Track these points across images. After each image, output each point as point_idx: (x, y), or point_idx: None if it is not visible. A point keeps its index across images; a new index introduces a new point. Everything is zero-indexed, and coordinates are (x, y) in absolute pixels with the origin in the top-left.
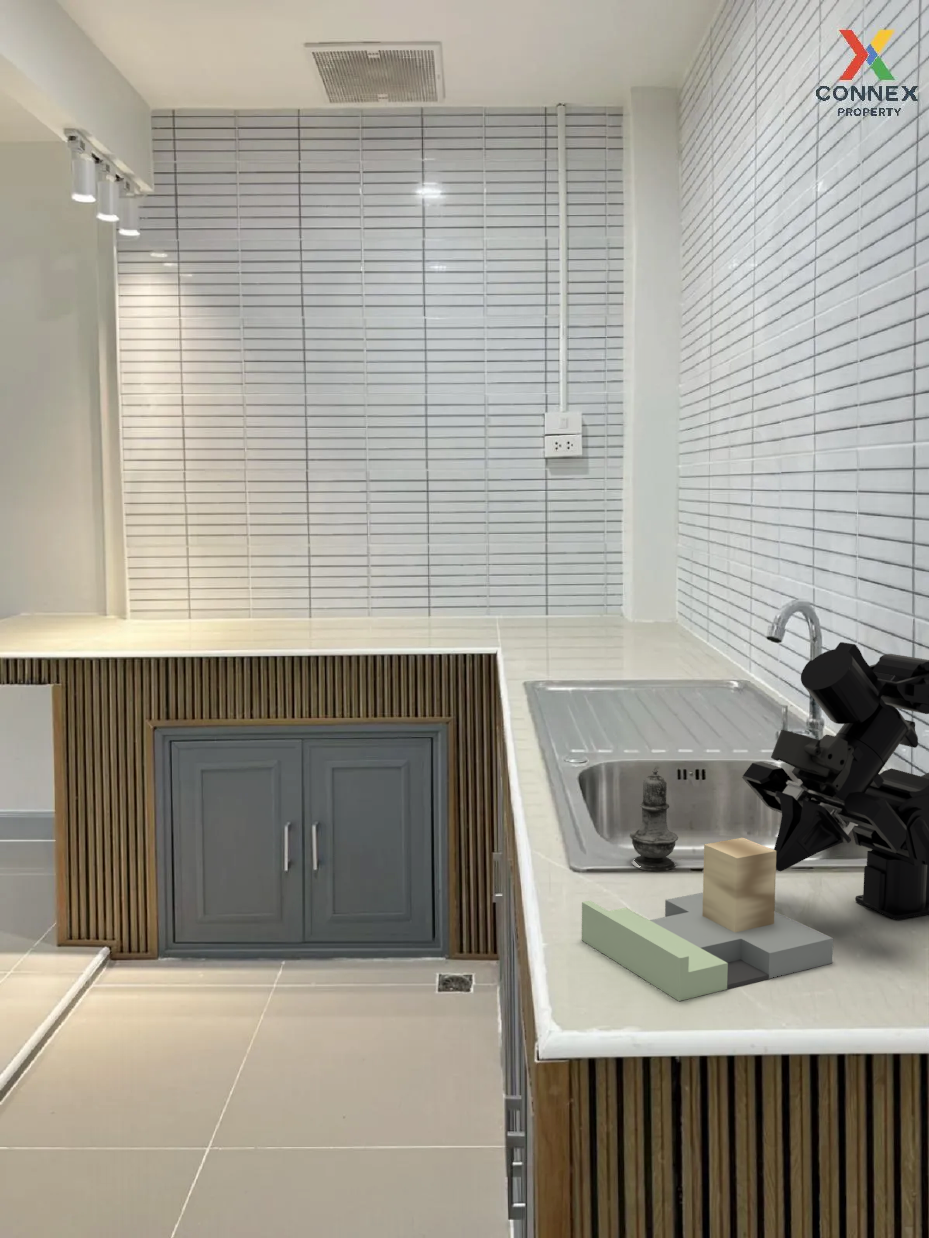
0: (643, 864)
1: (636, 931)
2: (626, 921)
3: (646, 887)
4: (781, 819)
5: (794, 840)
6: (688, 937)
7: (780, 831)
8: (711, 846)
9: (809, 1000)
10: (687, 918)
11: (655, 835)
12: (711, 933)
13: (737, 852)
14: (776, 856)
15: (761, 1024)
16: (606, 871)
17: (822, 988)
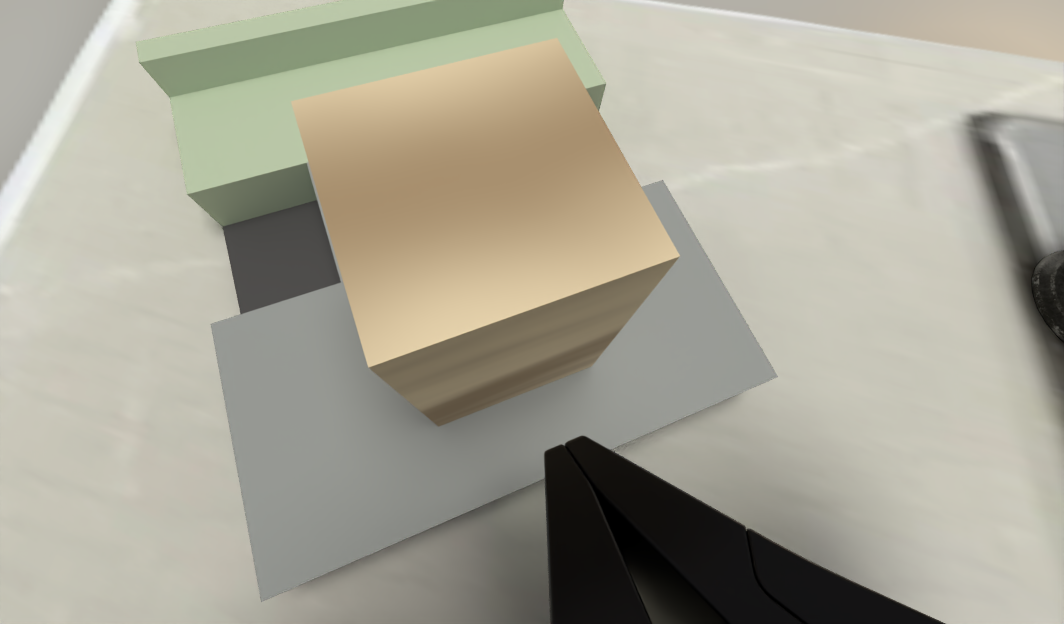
0: (1059, 266)
1: (339, 6)
2: (412, 4)
3: (891, 240)
4: (900, 606)
5: (560, 606)
6: None
7: (748, 545)
8: (515, 55)
9: (93, 402)
10: None
11: None
12: None
13: (389, 135)
14: (583, 466)
15: (29, 243)
16: (992, 181)
17: (147, 470)
